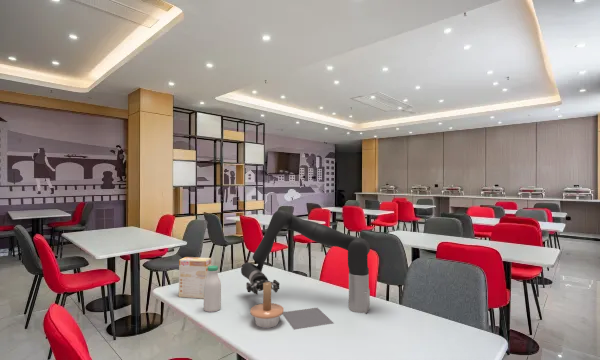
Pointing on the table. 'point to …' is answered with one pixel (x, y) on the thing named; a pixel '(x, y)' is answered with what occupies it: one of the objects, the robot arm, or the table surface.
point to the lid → (267, 305)
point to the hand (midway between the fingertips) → (266, 291)
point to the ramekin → (266, 322)
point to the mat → (306, 318)
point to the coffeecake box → (193, 276)
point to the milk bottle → (212, 290)
